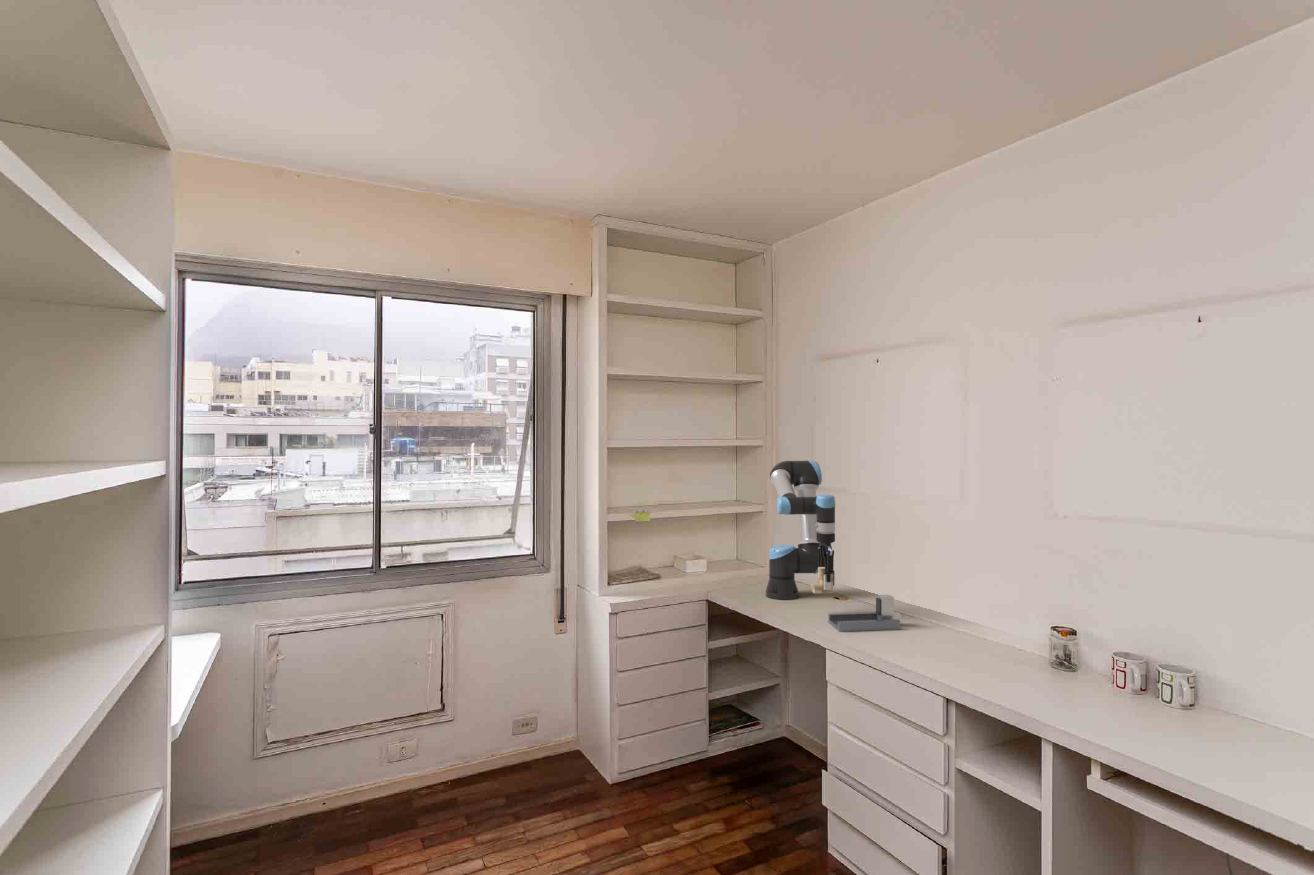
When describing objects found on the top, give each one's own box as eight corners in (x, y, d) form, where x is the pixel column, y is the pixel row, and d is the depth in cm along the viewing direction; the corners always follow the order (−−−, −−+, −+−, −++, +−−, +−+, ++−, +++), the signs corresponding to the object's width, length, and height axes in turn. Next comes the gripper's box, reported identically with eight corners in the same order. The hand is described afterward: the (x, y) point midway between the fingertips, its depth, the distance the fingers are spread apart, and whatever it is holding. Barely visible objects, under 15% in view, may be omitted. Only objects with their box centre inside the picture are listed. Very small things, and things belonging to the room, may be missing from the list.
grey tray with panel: (828, 622, 267) (828, 594, 267) (892, 620, 270) (892, 591, 270) (839, 631, 255) (839, 601, 255) (906, 629, 258) (905, 599, 258)
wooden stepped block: (811, 591, 280) (811, 567, 280) (831, 590, 281) (831, 566, 281) (814, 593, 276) (814, 569, 276) (834, 592, 277) (834, 569, 277)
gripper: (810, 528, 286) (810, 583, 287) (823, 536, 269) (823, 593, 270) (827, 528, 287) (827, 582, 288) (842, 535, 270) (842, 593, 271)
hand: (825, 587), depth 279 cm, fingers closed on wooden stepped block, 4 cm apart
